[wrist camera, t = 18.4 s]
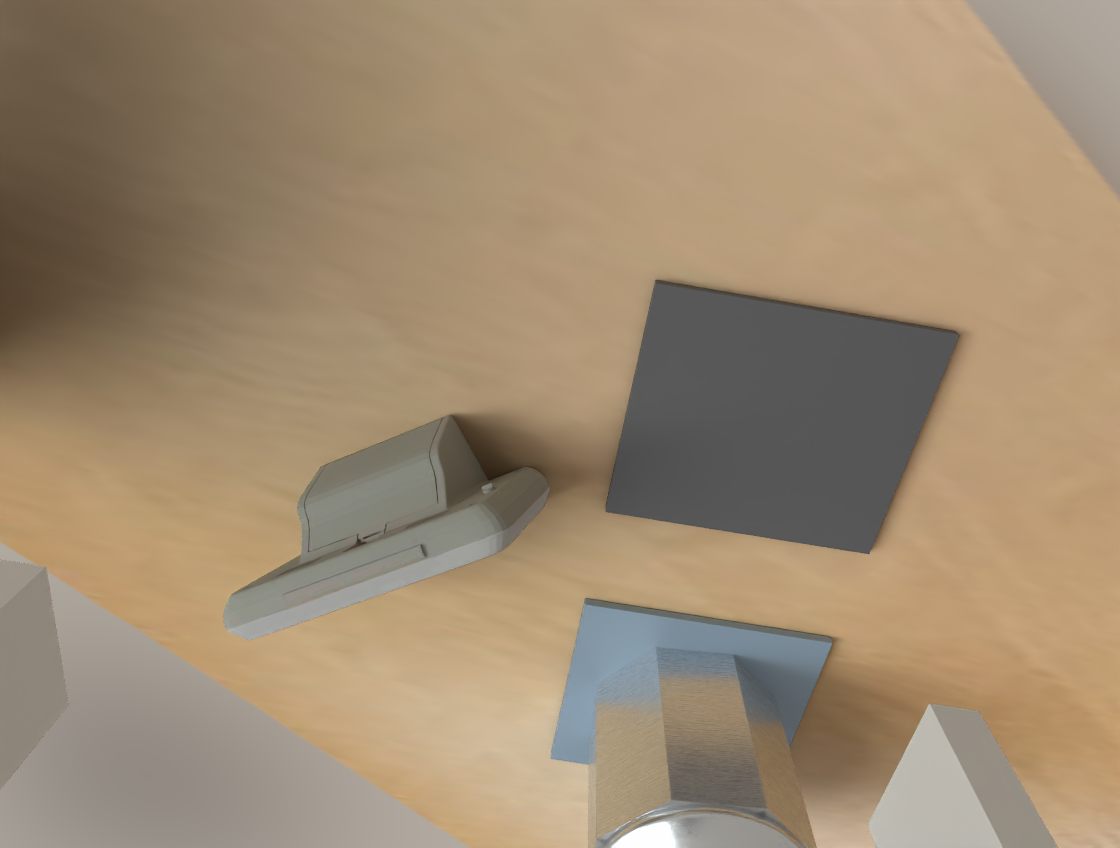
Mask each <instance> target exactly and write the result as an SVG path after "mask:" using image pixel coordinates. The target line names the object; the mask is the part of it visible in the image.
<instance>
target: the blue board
mask: <svg viewBox="0 0 1120 848" xmlns="http://www.w3.org/2000/svg"><path fill="white" fill-rule="evenodd" d="M831 646H832V641H831V638H830V637H828V636H821V635H815V634H809V633H802V632H796V631H789V630H783V629H777V628H770V627H764V626H758V625H751V624H745V623H738V622H732V621H726V620H719V619H713V618H707V617H700V616H694V615H687V614H681V613H675V612H668V611H662V610H656V609H649V608H643V607H637V606H630V605H624V604H617V603H611V602H605V601H598V600H592V599H586V598H585V602H584V606H583V611H582V615H581V620H580V624H579V629H578V634H577V638H576V643H575V647H574V652H573V656H572V661H571V665H570V670H569V674H568V679H567V683H566V688H565V692H564V697H563V702H562V706H561V711H560V715H559V720H558V724H557V729H556V733H555V738H554V742H553V747H552V751H551V759H555V760H562V761H569V762H575V763H582V764H589V735H590V727H591V720H592V712H593V705H594V697H595V690H596V683H597V682H599V681H601V680H602V679H604V678H606V677H607V676H609V675H611V674H612V673H614V672H616V671H617V670H619V669H621V668H622V667H624V666H626V665H627V664H629V663H631V662H632V661H634V660H636V659H637V658H639V657H641V656H642V655H644V654H646V653H647V652H649V651H651V650H652V649H654V648H656V647H659V648H669V649H680V650H691V651H702V652H713V653H724V654H733V655H734V656H735V657H736V658H737V659H738V661H739V662H740V663H741V664H742V665H743V666H744V667H745V668H746V669H747V670H748V671H749V672H750V673H751V674H752V675H753V676H754V677H755V678H756V679H757V680H758V681H759V682H760V683H761V685H762V686H763V687H764V688H765V689H766V690H767V691H768V692H769V693H770V694H771V695H772V696H773V697H774V698H775V699H776V702H777V706H778V709H779V713H780V716H781V720H782V724H783V727H784V731H785V734H786V738H787V742H788V745H789V747H790V745H791V743H792V740H793V738H794V735H795V733H796V731H797V728H798V726H799V723H800V721H801V718H802V716H803V714H804V711H805V709H806V706H807V704H808V701H809V699H810V697H811V694H812V692H813V689H814V687H815V684H816V682H817V680H818V677H819V675H820V672H821V670H822V668H823V665H824V663H825V660H826V658H827V655H828V653H829V651H830V648H831Z"/></svg>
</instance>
